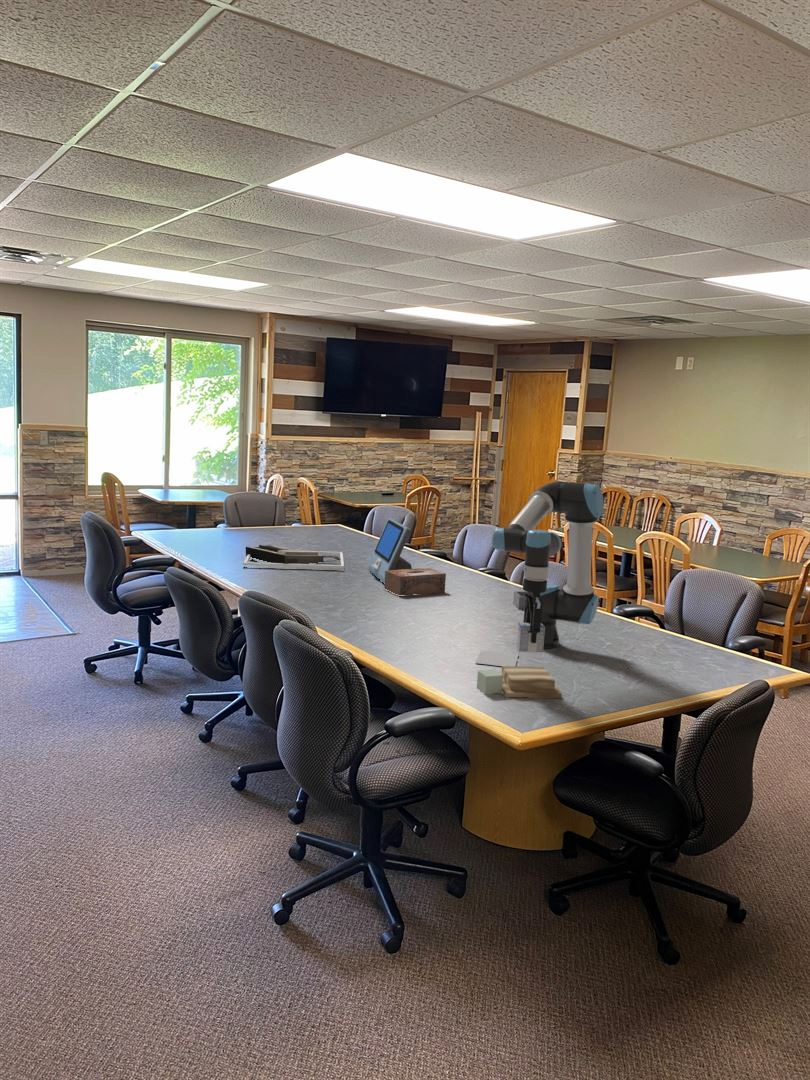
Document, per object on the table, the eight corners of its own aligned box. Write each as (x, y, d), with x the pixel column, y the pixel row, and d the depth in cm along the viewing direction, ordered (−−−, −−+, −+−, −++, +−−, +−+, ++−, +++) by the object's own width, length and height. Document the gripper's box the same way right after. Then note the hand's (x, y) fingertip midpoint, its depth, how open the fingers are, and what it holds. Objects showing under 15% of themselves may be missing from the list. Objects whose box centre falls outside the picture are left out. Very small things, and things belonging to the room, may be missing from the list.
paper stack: (544, 658, 301) (544, 657, 301) (540, 680, 277) (541, 678, 277) (481, 651, 306) (481, 650, 305) (472, 671, 281) (472, 670, 281)
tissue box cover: (399, 597, 387) (400, 576, 386) (384, 590, 399) (385, 570, 398) (444, 593, 400) (445, 573, 399) (428, 587, 413) (430, 567, 411)
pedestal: (493, 678, 274) (494, 664, 274) (546, 679, 276) (547, 665, 275) (505, 697, 257) (506, 682, 256) (561, 698, 259) (562, 683, 258)
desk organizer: (513, 603, 385) (514, 591, 384) (556, 604, 387) (557, 592, 386) (518, 609, 374) (519, 596, 373) (563, 610, 377) (564, 597, 376)
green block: (476, 688, 264) (477, 670, 263) (493, 687, 266) (494, 669, 265) (484, 694, 258) (486, 676, 257) (501, 693, 261) (503, 675, 260)
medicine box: (540, 649, 267) (542, 623, 266) (543, 653, 262) (545, 626, 261) (516, 648, 266) (518, 622, 265) (518, 652, 262) (520, 625, 261)
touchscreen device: (365, 571, 442) (369, 516, 438) (400, 572, 447) (405, 518, 443) (381, 585, 409) (386, 526, 404) (418, 586, 414) (423, 528, 410)
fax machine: (345, 563, 455) (345, 546, 453) (296, 573, 430) (296, 555, 428) (294, 552, 485) (293, 536, 483) (246, 561, 461) (245, 544, 459)
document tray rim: (250, 554, 476) (250, 548, 475) (342, 557, 481) (342, 552, 480) (243, 568, 434) (243, 562, 434) (343, 571, 440) (343, 565, 439)
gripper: (517, 572, 269) (512, 641, 273) (530, 584, 252) (524, 657, 255) (539, 573, 270) (534, 642, 273) (554, 585, 253) (548, 658, 256)
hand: (529, 649), depth 264 cm, fingers closed on medicine box, 5 cm apart
